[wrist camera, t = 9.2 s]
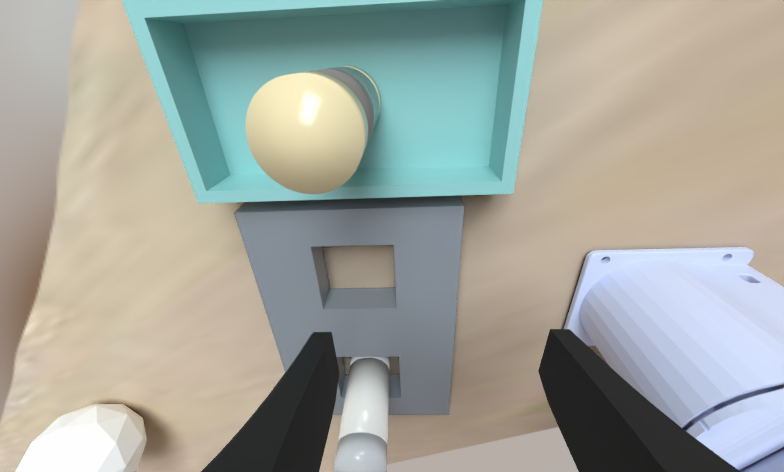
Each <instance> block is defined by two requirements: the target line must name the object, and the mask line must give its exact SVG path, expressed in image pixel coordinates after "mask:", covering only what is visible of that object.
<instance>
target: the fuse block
mask: <svg viewBox="0 0 784 472" xmlns="http://www.w3.org/2000/svg"><path fill="white" fill-rule="evenodd" d="M234 214H235V217H236V220H237V223H238V226H239V229H240V233H241V236H242V239H243V242H244V245H245V248H246V251H247V254H248V257H249V261H250V264H251V267H252V270H253V273H254V276H255V279H256V282H257V285H258V288H259V292H260V295H261V298H262V301H263V304H264V307H265V310H266V313H267V316H268V320H269V323H270V326H271V329H272V332H273V335H274V338H275V341H276V344H277V347H278V351H279V354H280V357H281V360H282V363H283V366H284V369H285V372H286V371H287V370H288V368H289V367H290V365H291V364H292V363H293V361H294V360H295V358H296V357H297V355H298V354H299V352H300V351H301V349H302V348H303V346H304V345H305V343H306V342H307V340H308V339H309V337H310V336H311V334H312V333H313V332H332V336H333V342H334V347H335V352H336V357H337V362H338V367H339V379H338V387H337V395H336V402H335V407H334V411H333V415H342V413H343V407H344V400H345V394H346V388H347V381H348V375H345V371H344V365H343V360H342V357H397V356H399V366H400V375H389V409H388V415H449V405H450V392H451V378H452V365H453V352H454V338H455V325H456V311H457V298H458V284H459V271H460V258H461V244H462V231H463V217H464V204H463V201H462V199H461V197H460V195H455V196H423V197H391V198H358V199H326V200H294V201H261V202H245V203H244V204H243V205H242V206H241V207H240V208H239V209H238V210H236V211H235V212H234ZM360 245H394V265H395V285H396V288H349V289H330V288H329V282H328V277H327V271H326V266H325V260H324V255H323V249H322V246H360Z"/></svg>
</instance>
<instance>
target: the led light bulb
mask: <svg viewBox="0 0 784 472" xmlns="http://www.w3.org/2000/svg"><path fill="white" fill-rule="evenodd" d="M380 110H381V94H380V90H379V88H378V86H377V84H376V82H375V80H374V79H373V78H372V77H371V76H370V75H369V74H368V73H367V72H366V71H364V70H362V69H360V68H358V67H355V66H340V67H334V68H327V69H321V70H314V71H308V72H301V73H295V74H288V75H283V76H280V77H277V78H274V79H272V80H270V81H269V82H267V83H266V84H264V85H263V86H262V87H261V88H260V89H259V90H258V91H257V93H256V94H255V95H254V97H253V98H252V100H251V102H250V104H249V107H248V110H247V115H246V125H245V127H246V136H247V141H248V145H249V148H250V150H251V152H252V155H253V157H254V158H255V160H256V162H257V163H258V165H259V166H260V167H261V169H262V170H263V171H264V172H265V173H266V174H267V175H268V176H269V177H270V178H271V179H273V180H274V181H275V182H277V183H278V184H280V185H281V186H283V187H285V188H287V189H290V190H292V191H295V192H299V193H304V194H322V193H326V192H330V191H332V190H335V189H337V188H338V187H340V186H342V185H343V184H344V183H346V182H347V181H348V180H349V179H350V178H351V176H352V175H353V174H354V173H355V171H356V169H357V167H358V165H359V163H360V160H361V158H362V155H363V153H364V150H365V148H366V145H367V143H368V141H369V138H370V136H371V133H372V131H373V128H374V126H375V123H376V121H377V118H378V116H379V113H380Z"/></svg>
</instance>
